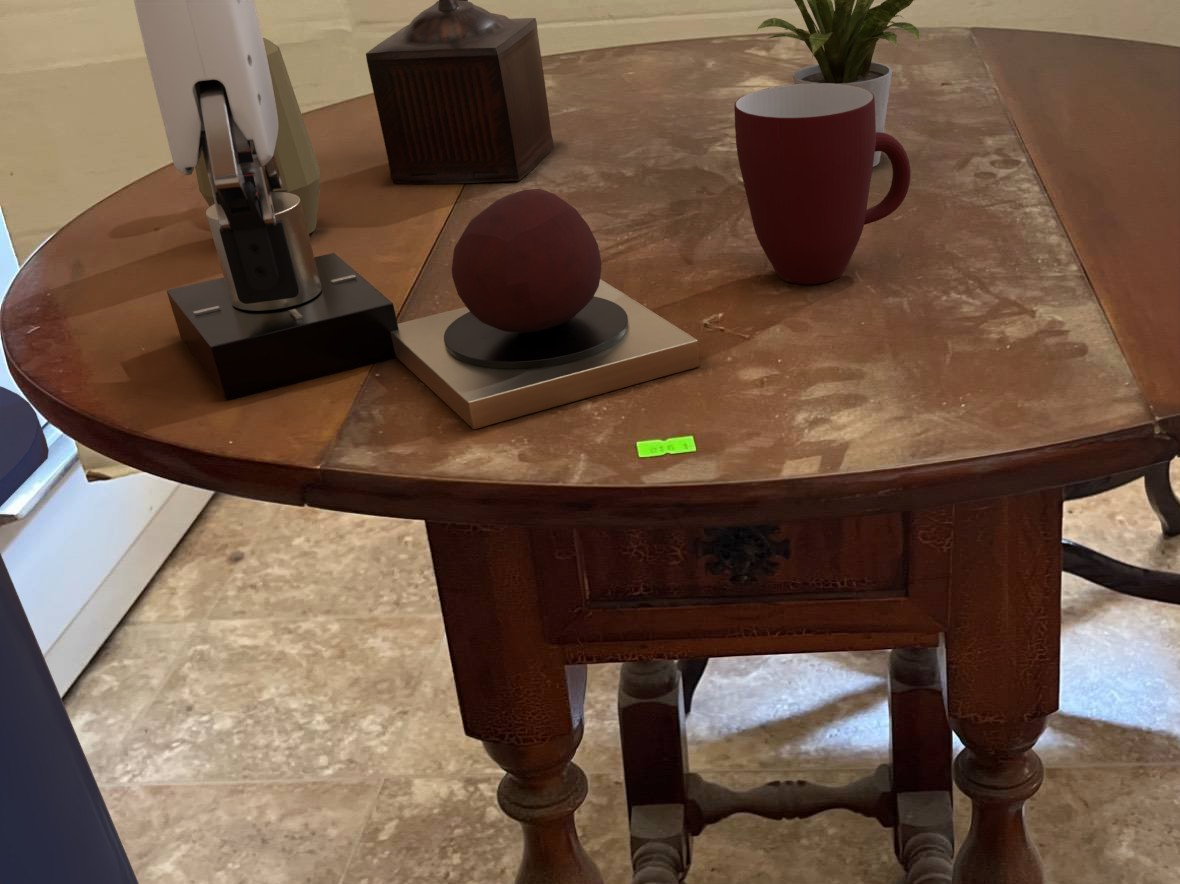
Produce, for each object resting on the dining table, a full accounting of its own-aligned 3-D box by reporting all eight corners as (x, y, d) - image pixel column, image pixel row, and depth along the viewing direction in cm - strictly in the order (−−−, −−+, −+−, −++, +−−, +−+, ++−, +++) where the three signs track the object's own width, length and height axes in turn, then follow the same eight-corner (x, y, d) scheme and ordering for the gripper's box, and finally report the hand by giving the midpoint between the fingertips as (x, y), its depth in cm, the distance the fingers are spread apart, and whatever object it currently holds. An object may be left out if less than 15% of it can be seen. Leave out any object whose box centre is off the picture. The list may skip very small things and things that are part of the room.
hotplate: (473, 430, 74) (466, 394, 73) (390, 352, 83) (383, 319, 82) (700, 366, 79) (697, 332, 78) (597, 299, 88) (593, 268, 87)
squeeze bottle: (197, 256, 99) (111, -41, 89) (236, 219, 106) (161, -62, 95) (314, 251, 99) (242, -49, 88) (346, 214, 105) (283, -70, 95)
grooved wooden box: (560, 142, 118) (525, -116, 107) (521, 182, 109) (478, -94, 98) (378, 145, 120) (326, -106, 110) (325, 186, 112) (262, -83, 101)
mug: (866, 235, 95) (863, 69, 89) (937, 268, 89) (939, 93, 83) (721, 270, 91) (709, 99, 85) (786, 307, 85) (777, 126, 79)
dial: (319, 304, 81) (295, 207, 78) (226, 316, 81) (199, 218, 77) (323, 275, 85) (301, 181, 82) (235, 286, 85) (209, 192, 81)
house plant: (731, 200, 103) (712, -63, 93) (731, 146, 114) (715, -94, 104) (935, 187, 102) (938, -79, 93) (916, 134, 113) (916, -108, 104)
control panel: (226, 400, 79) (209, 343, 77) (181, 339, 87) (165, 287, 85) (404, 355, 83) (392, 300, 81) (345, 301, 90) (333, 249, 89)
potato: (432, 342, 79) (405, 210, 75) (536, 291, 84) (516, 166, 80) (535, 366, 75) (514, 228, 71) (637, 311, 81) (622, 180, 77)
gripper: (120, -100, 78) (216, 244, 89) (69, -54, 64) (189, 345, 75) (264, -113, 79) (342, 228, 90) (244, -71, 65) (339, 325, 76)
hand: (272, 278), depth 82 cm, fingers closed on dial, 5 cm apart
